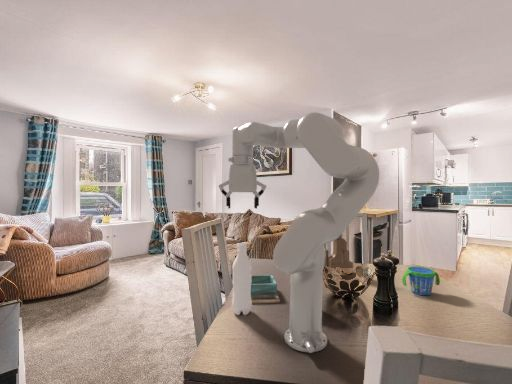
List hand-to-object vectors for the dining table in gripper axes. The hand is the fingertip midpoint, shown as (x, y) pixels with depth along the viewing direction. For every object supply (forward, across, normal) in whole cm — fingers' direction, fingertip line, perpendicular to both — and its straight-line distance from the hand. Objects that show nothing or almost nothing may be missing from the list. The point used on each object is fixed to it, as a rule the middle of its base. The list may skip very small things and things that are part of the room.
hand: (242, 208), depth 98 cm
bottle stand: (+38, +9, +15) cm, 42 cm away
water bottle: (+38, 0, 0) cm, 38 cm away
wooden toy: (+38, +53, +40) cm, 77 cm away
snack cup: (+38, +79, +11) cm, 88 cm away
